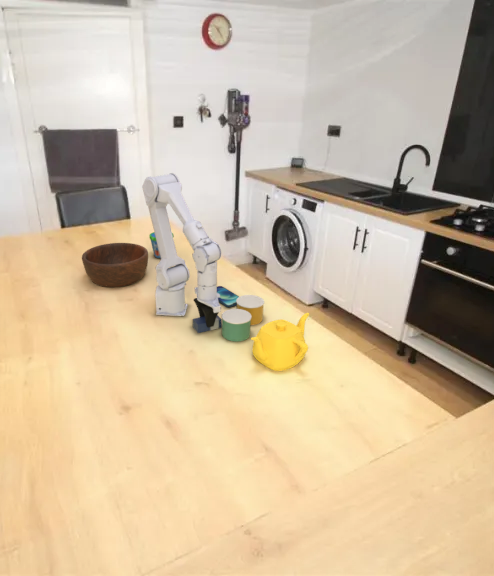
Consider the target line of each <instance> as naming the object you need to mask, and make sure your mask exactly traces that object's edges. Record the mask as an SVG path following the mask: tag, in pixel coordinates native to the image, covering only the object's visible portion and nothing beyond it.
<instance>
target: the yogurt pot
mask: <svg viewBox="0 0 494 576" xmlns="http://www.w3.org/2000/svg"><path fill="white" fill-rule="evenodd" d="M221 319H222V328H221V335H222V338H224V339H225V340H227V341H229V342H237V343H238V342H244V341H246V340H248V339H249V338H250V336H251V325H250V323H251V314H250V313H249V312H248V311H245V310H242V309H237V308H230V309H227V310H224V311H223V312H222V314H221Z"/></svg>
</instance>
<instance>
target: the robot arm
mask: <svg viewBox="0 0 494 576" xmlns="http://www.w3.org/2000/svg"><path fill="white" fill-rule="evenodd" d="M141 188H142V193H143V195H144V200H145V205H146V206H147V209H148V212H149V216H150V220H151V224H152V228H153V229H152V230H153V232H154V233H155V237H156V241H157V245H158V249H159V253H160V257H161V258H160V260H159V261H158V263H157V265H156V266H155V273H156V274H155V275H156V276H155V278H156V279H155V280H156V282H157V283H156V284H157V285H156V287H155V295H154V296H155V297H154V298H155V311H156V313H155V315H156V316H167V317H168V316H170V317H185V316H186V313H187V310H188V307H189V306H188V303H186V291H185V289H186V288H185V286H187V282H188V281H189V280H190V276H191V275H190V269H189V268H188V266H187V264H186V261H185V259H184V258H182V257H180V256H179V255H178V251H177V248H176V244H175V240H174V237H173V235H174V234H173V235H172V233H173V231H172V227H171V222H170V218H169V214H168V209H167V206H168V205H169V206H170V208H171V209H172V211H173V212H174V213H175V215H176V216H177V218H178V219H179V221H180V222H181V224H182V225H183V226H182V233H183V235H184V237H185V238H186V240H187V242H188V243H189V245H190V247H191V249H192V250H193V253H192V259H193V262H194V264H195V270H196V272H197V273H196V274H197V275H196V276H197V277H196V279H197V280H196V281H197V282H196V283H197V286H195V287H194V294H195V295H196V297H195V298H193V302H194V304H195V306H196V308H197V311H198V315H199V317H203V316H205V320H206V326H207V327H213V326H214V323H215V320H216V317H217V315H218V316H219V313H221V312H222V311H221V310H222V306H221V304H220V302H218V298H219V297H220V294H219V293H217V286H218V261H219V260H220V259H221V258H222V249H221V246H220V244H219V243H218V242H216V241H214V240H213V238H210V236H209V235H208V232H207V231H206V230H205V228H204V226H203V225H202V223H201V221H200V220H198V219H195V218H194V216H193V214H192V212H191V210H190V208H189V206H188V204H187V202H186V200H185V197H184V196H183V193H182V190H183V184H182V183H181V182H180V178H179V177H178V175H176V173H174V172H171V173H166V174H162V175H161V174H159V175H154V176H147V177H146V178H145V179H144V180H143V184H142V186H141Z"/></svg>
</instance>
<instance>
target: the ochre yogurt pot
mask: <svg viewBox="0 0 494 576" xmlns="http://www.w3.org/2000/svg"><path fill="white" fill-rule="evenodd" d="M236 302H237V305H236V309H242V310H245V311H248V312H249V313H250V314H251V323H250V326H253V325H259V324H260V323H261V322H262V321H263V318H264V304H265V300H264V298H262V296H258V295H255V294H244V295H240V296H239V297H238V298H237V300H236Z"/></svg>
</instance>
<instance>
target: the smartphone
mask: <svg viewBox="0 0 494 576" xmlns="http://www.w3.org/2000/svg"><path fill="white" fill-rule="evenodd" d="M217 293H219V294H220V297H219V298H218V302H219V304H220V305H223V306H224V307H226V308H232V307H235V306H236V307H237V302H236V300H237V298H238V297H240V296H239V295H237V294H236V293H234V292H232V291H231V290H229V289H227V288H226V287H225V286H223V285H217Z"/></svg>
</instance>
